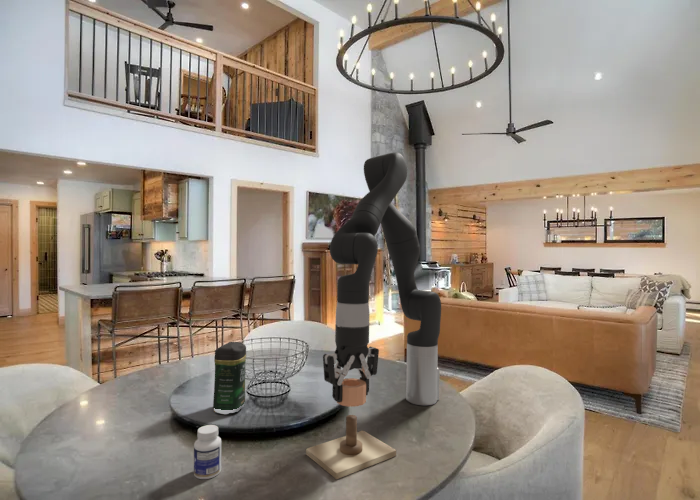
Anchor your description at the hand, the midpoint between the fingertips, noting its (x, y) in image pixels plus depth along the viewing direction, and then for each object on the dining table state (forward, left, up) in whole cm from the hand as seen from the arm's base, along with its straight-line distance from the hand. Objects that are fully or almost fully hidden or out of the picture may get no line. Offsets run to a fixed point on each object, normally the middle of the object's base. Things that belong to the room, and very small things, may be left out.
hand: (351, 397), depth 89 cm
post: (0, 0, -11) cm, 11 cm away
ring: (0, 0, -1) cm, 1 cm away
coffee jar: (+13, -40, -13) cm, 44 cm away
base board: (0, 0, -13) cm, 13 cm away
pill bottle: (+28, -11, -13) cm, 33 cm away
